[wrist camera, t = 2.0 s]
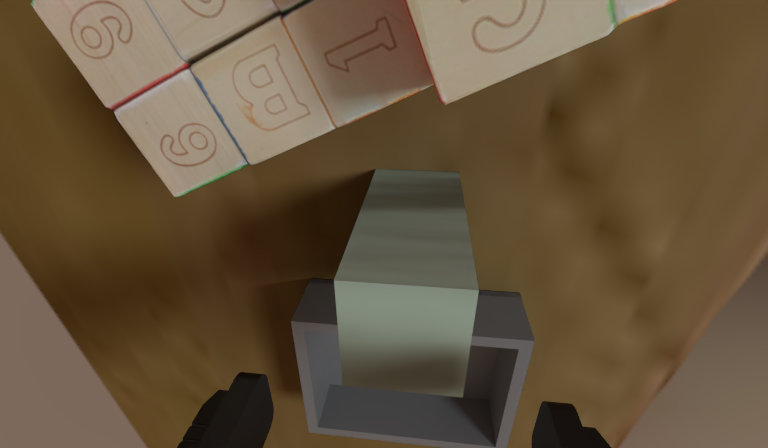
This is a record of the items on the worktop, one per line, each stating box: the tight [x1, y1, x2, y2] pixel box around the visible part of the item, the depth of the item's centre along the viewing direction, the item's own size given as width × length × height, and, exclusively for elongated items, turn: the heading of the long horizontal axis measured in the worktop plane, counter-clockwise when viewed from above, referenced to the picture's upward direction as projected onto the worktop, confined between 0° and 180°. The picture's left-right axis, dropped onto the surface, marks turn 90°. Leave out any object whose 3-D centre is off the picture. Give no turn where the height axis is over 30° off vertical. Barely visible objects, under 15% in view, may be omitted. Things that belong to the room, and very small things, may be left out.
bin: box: [291, 279, 535, 448], centre depth 25 cm, size 10×13×4 cm
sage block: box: [334, 169, 479, 397], centre depth 17 cm, size 5×4×10 cm
